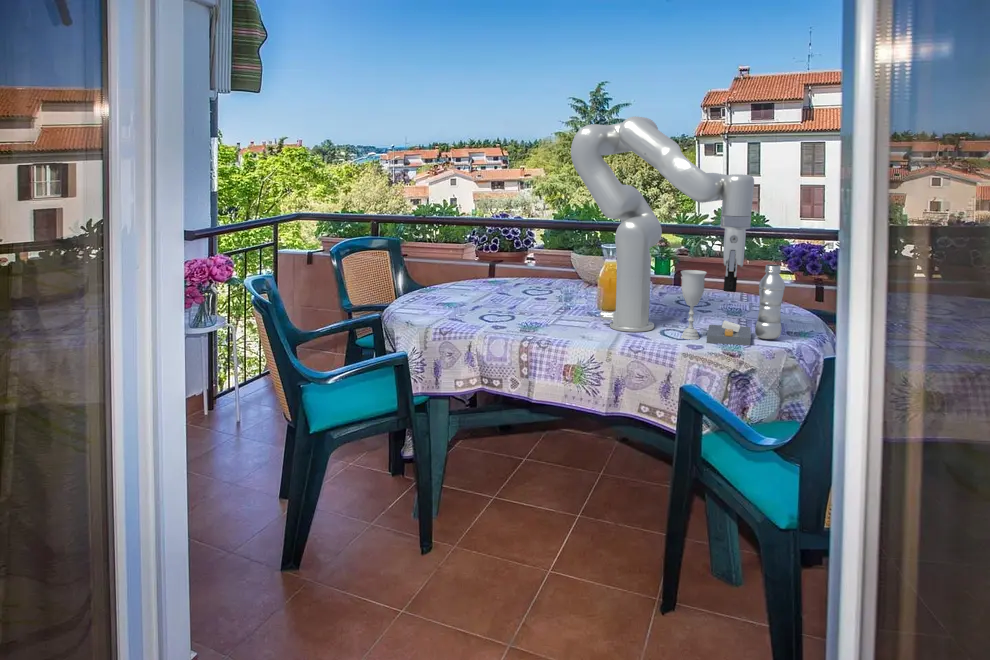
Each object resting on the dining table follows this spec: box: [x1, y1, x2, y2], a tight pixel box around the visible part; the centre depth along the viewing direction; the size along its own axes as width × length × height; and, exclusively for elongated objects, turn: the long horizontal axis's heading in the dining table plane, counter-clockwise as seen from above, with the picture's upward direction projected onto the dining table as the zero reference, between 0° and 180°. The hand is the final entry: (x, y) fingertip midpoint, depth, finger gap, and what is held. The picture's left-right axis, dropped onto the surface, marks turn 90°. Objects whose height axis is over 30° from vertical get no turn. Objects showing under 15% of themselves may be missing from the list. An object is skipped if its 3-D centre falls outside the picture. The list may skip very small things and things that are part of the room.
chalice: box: [680, 269, 708, 341], centre depth 206 cm, size 7×7×18 cm
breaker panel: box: [706, 321, 752, 346], centre depth 206 cm, size 11×14×3 cm
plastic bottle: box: [754, 263, 786, 340], centre depth 203 cm, size 6×7×20 cm
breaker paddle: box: [721, 319, 740, 332], centre depth 206 cm, size 4×3×1 cm
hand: (729, 291), depth 204 cm, fingers closed
